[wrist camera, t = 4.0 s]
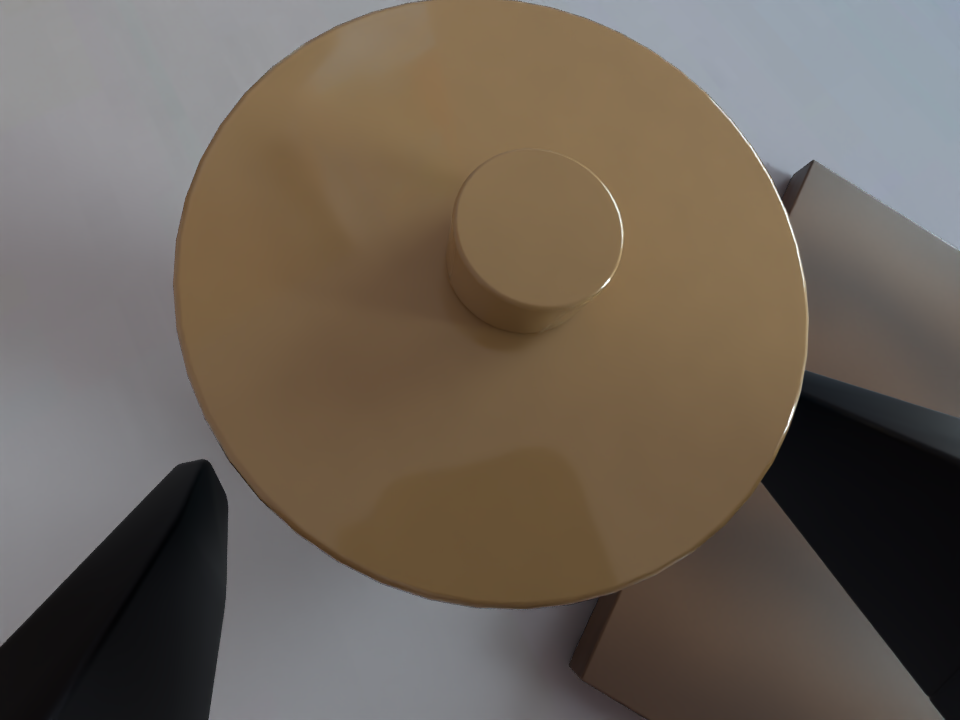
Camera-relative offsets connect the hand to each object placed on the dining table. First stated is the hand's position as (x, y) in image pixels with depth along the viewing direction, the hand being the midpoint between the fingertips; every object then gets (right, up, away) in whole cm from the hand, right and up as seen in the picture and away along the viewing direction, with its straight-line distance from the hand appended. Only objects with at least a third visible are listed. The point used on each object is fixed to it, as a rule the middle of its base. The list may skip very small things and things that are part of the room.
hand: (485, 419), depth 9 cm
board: (+14, -3, +11) cm, 18 cm away
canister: (-2, -1, +9) cm, 9 cm away
